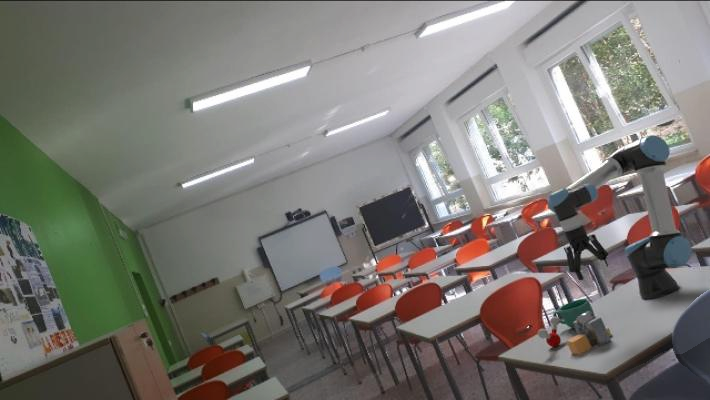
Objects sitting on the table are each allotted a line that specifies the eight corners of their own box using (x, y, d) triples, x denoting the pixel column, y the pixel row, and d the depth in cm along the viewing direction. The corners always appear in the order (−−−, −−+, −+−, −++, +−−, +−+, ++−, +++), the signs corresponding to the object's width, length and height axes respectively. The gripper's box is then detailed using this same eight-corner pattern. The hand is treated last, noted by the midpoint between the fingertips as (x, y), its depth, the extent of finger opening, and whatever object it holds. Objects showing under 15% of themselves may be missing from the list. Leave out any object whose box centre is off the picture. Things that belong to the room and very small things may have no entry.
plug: (605, 334, 219) (599, 322, 220) (613, 335, 215) (607, 322, 215) (571, 353, 215) (566, 341, 215) (579, 354, 210) (573, 341, 211)
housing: (592, 338, 221) (579, 310, 222) (611, 340, 211) (597, 311, 212) (582, 344, 220) (569, 316, 221) (600, 346, 209) (587, 316, 210)
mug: (601, 316, 244) (592, 296, 244) (591, 328, 234) (582, 306, 235) (566, 324, 255) (557, 304, 256) (555, 335, 246) (546, 314, 246)
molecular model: (555, 353, 222) (544, 329, 223) (542, 356, 226) (531, 332, 226) (569, 336, 236) (559, 313, 236) (557, 339, 239) (547, 316, 240)
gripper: (589, 218, 228) (613, 270, 227) (544, 240, 222) (569, 293, 220) (601, 215, 221) (626, 269, 220) (555, 237, 215) (580, 293, 213)
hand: (597, 281), depth 220 cm, fingers open, 10 cm apart
